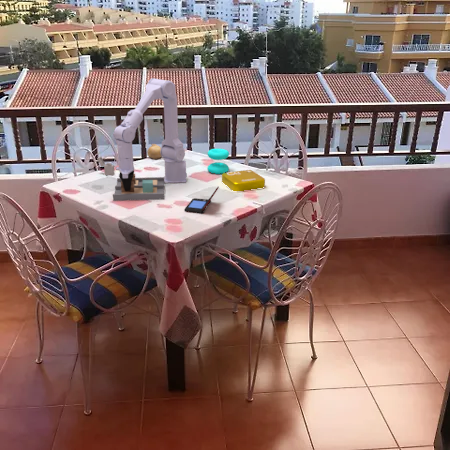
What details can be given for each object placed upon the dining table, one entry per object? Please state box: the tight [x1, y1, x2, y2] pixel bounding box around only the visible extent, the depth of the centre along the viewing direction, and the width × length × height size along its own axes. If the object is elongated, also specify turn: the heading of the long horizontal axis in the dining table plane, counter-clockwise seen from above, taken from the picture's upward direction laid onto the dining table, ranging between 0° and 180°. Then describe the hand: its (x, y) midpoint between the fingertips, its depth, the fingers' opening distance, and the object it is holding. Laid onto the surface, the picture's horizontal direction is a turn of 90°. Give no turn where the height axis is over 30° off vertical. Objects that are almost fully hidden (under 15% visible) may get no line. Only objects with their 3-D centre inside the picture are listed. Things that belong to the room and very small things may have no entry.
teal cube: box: [142, 180, 153, 193], centre depth 193 cm, size 4×4×4 cm
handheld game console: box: [184, 186, 220, 215], centre depth 182 cm, size 12×11×7 cm
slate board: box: [112, 176, 165, 202], centre depth 198 cm, size 20×20×2 cm
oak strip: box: [121, 181, 157, 194], centre depth 192 cm, size 14×8×5 cm, turn 97°
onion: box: [146, 143, 163, 160], centre depth 240 cm, size 8×8×7 cm
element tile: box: [221, 169, 266, 192], centre depth 207 cm, size 15×15×5 cm
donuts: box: [206, 148, 230, 175], centre depth 222 cm, size 10×10×10 cm
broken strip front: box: [132, 173, 138, 185], centre depth 201 cm, size 6×8×5 cm
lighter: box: [97, 156, 116, 176], centre depth 215 cm, size 7×2×8 cm, turn 77°
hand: (127, 189), depth 192 cm, fingers closed on oak strip, 2 cm apart
